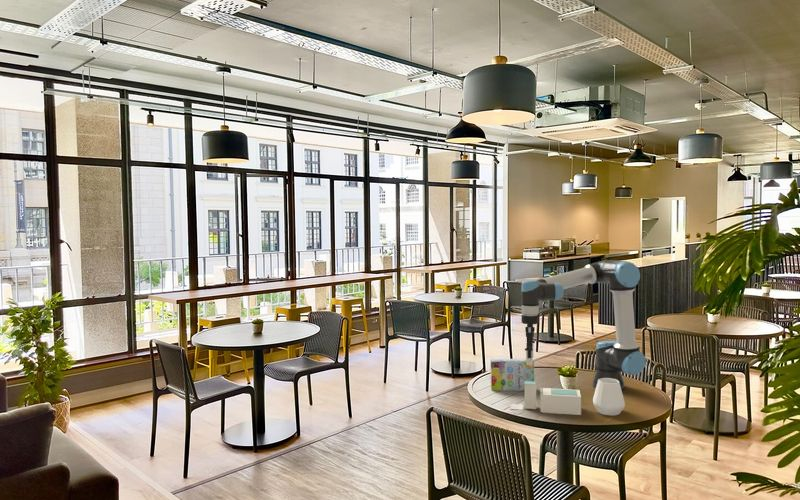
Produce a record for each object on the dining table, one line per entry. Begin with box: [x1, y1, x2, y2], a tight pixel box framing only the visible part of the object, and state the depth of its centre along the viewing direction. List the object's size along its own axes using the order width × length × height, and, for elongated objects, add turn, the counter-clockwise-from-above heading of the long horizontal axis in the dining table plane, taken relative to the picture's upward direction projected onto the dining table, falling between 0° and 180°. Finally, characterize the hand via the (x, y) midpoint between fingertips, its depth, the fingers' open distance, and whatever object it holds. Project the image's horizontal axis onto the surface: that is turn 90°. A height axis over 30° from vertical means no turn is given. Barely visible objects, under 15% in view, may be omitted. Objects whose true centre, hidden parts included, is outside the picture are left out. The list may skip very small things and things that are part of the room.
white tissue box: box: [540, 387, 582, 416], centre depth 248 cm, size 17×10×8 cm, turn 76°
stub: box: [524, 381, 537, 410], centre depth 251 cm, size 5×4×11 cm
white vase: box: [592, 378, 626, 416], centre depth 244 cm, size 13×13×14 cm
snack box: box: [489, 358, 535, 392], centre depth 279 cm, size 21×6×15 cm, turn 84°
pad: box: [509, 403, 524, 411], centre depth 253 cm, size 6×7×1 cm
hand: (529, 361), depth 251 cm, fingers open, 13 cm apart
